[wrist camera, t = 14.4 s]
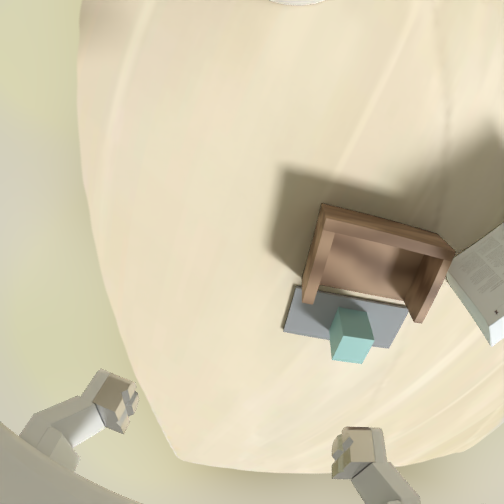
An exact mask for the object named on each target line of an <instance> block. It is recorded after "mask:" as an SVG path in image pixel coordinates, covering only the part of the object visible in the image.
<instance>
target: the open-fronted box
mask: <svg viewBox="0 0 504 504" xmlns="http://www.w3.org/2000/svg"><path fill="white" fill-rule="evenodd" d="M455 253H456V252H455V251H454V250H453V249H452V248H451V247H450V246H449V245H448V244H447V243H446V242H445V241H444V240H443V239H442V238H441V237H440V236H439V235H438V234H436V233H433V232H429V231H426V230H423V229H419V228H416V227H412V226H409V225H405V224H402V223H398V222H395V221H391V220H387V219H384V218H380V217H376V216H372V215H368V214H364V213H360V212H357V211H353V210H348V209H344V208H340V207H336V206H332V205H328V204H323V203H322V204H321V208H320V212H319V216H318V220H317V224H316V227H315V231H314V235H313V239H312V243H311V247H310V250H309V254H308V258H307V261H306V265H305V269H304V272H303V276H302V303H306V304H311V305H313V303H314V300H315V297H316V294H317V291H318V287H319V285H324V286H329V287H334V288H339V289H344V290H349V291H354V292H359V293H365V294H370V295H375V296H380V297H386V298H391V299H396V300H401V301H404V302H405V304H406V307H407V309H408V311H409V313H410V315H411V317H412V319H413V321H414V322H415V323H422V322H423V320H424V319H425V317H426V315H427V313H428V311H429V309H430V307H431V305H432V303H433V301H434V299H435V297H436V295H437V293H438V291H439V289H440V287H441V285H442V283H443V280H444V278H445V276H446V274H447V272H448V269H449V267H450V265H451V262H452V260H453V258H454V255H455Z"/></svg>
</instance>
